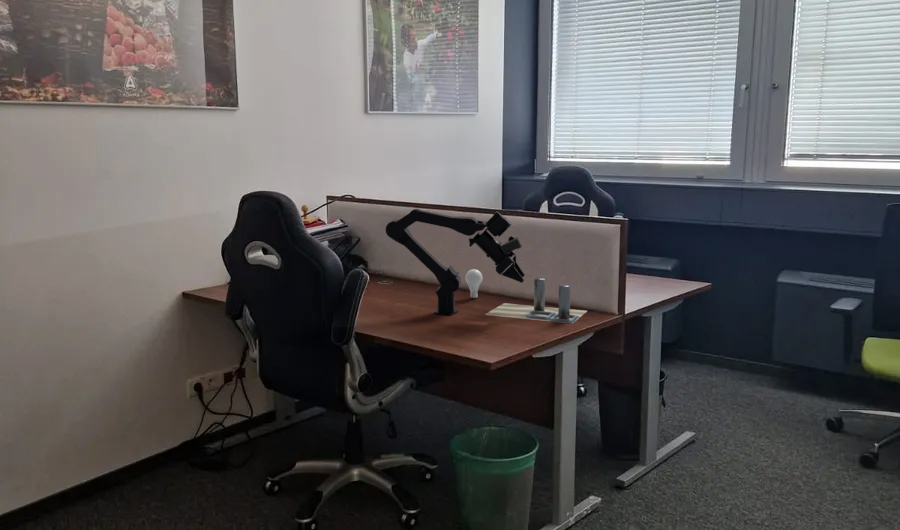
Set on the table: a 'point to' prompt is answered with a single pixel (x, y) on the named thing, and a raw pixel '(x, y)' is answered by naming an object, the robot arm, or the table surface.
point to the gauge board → (534, 313)
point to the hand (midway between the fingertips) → (523, 278)
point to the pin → (539, 294)
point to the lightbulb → (473, 281)
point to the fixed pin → (564, 302)
